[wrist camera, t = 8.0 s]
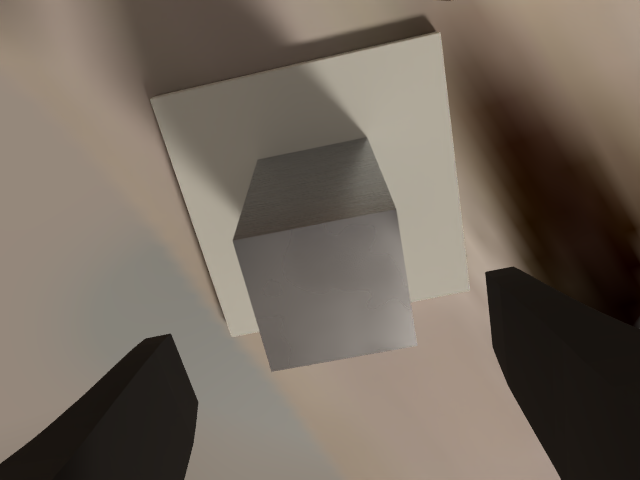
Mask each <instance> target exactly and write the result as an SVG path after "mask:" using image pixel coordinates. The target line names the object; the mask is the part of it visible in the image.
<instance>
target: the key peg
mask: <svg viewBox="0 0 640 480" xmlns="http://www.w3.org/2000/svg"><path fill="white" fill-rule="evenodd" d="M233 244H234V248H235V251H236V255H237V258H238V261H239V265H240V268H241V271H242V275H243V278H244V281H245V285H246V288H247V291H248V295H249V298H250V301H251V305H252V308H253V311H254V315H255V318H256V321H257V325H258V328H259V331H260V335H261V338H262V341H263V345H264V348H265V351H266V355H267V358H268V361H269V365H270V368H271V371H278V370H283V369H289V368H295V367H300V366H306V365H312V364H317V363H323V362H329V361H334V360H340V359H345V358H351V357H357V356H362V355H368V354H374V353H379V352H385V351H391V350H396V349H402V348H408V347H413V346H417V340H416V333H415V327H414V320H413V314H412V307H411V301H410V294H409V288H408V281H407V275H406V268H405V262H404V255H403V249H402V243H401V236H400V230H399V223H398V217H397V210H396V207H395V204H394V202H393V200H392V197H391V195H390V192H389V190H388V187H387V185H386V182H385V180H384V177H383V175H382V172H381V170H380V168H379V165H378V163H377V160H376V158H375V155H374V153H373V150H372V148H371V145H370V143H369V140H368V138H367V137H365V138H360V139H355V140H351V141H346V142H341V143H336V144H331V145H326V146H321V147H316V148H311V149H306V150H302V151H297V152H292V153H287V154H282V155H277V156H272V157H267V158H262V159H258V160H257V163H256V166H255V169H254V172H253V176H252V179H251V182H250V185H249V189H248V192H247V195H246V198H245V202H244V205H243V208H242V211H241V215H240V218H239V221H238V224H237V228H236V231H235V234H234V237H233Z"/></svg>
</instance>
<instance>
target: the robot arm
mask: <svg viewBox="0 0 640 480" xmlns="http://www.w3.org/2000/svg"><path fill="white" fill-rule="evenodd" d="M485 275H486V285H487V295H488V305H489V315H490V325H491V335H492V345H493V349H494V352H495V354H496V357H497V359H498V362H499V365H500V367H501V370H502V372H503V374H504V377H505V379H506V382H507V384H508V386H509V388H510V390H511V392H512V393H513V395H514V397H515V399H516V401H517V402H518V404H519V406H520V408H521V409H522V411H523V413H524V415H525V417H526V418H527V420H528V422H529V424H530V425H531V427H532V429H533V431H534V432H535V434H536V436H537V437H538V439H539V441H540V443H541V444H542V446H543V448H544V450H545V451H546V453H547V455H548V457H549V458H550V460H551V462H552V464H553V465H554V467H555V469H556V471H557V473H558V474H559V476H560V478H561V480H640V329H638V328H635V327H633V326H630V325H628V324H626V323H623V322H621V321H619V320H617V319H614V318H612V317H610V316H608V315H605V314H603V313H601V312H599V311H597V310H595V309H593V308H591V307H588V306H586V305H584V304H582V303H580V302H578V301H576V300H575V299H573V298H571V297H569V296H567V295H565V294H563V293H561V292H559V291H558V290H556V289H554V288H552V287H550V286H548V285H547V284H545V283H543V282H541V281H539V280H538V279H536V278H534V277H532V276H530V275H529V274H527V273H525V272H523V271H521V270H519V269H517V268H515V267H508V268H503V269H498V270H493V271H488V272H485ZM197 410H198V400H197V398H196V395H195V393H194V390H193V388H192V385H191V383H190V380H189V378H188V375H187V373H186V370H185V368H184V365H183V363H182V360H181V358H180V355H179V353H178V350H177V348H176V345H175V343H174V340H173V338H172V335H171V334H166V335H161V336H156V337H152V338H146V339H144V340H143V341H142V342H141V343H139V344H138V345H137V346H136V347H135V348H133V349H132V350H131V351H130V352H129V353H128V354H127V355H126V356H125V357H124V358H122V359H121V360H120V361H119V362H118V363H117V364H116V365H115V366H114V367H113V368H112V369H111V370H110V371H109V372H108V373H107V374H106V375H105V376H103V378H101V379H100V380H99V381H98V382H97V383H96V384H95V385H94V386H93V387H92V388H91V389H90V390H89V391H88V392H86V394H85V395H83V396H82V397H81V398H80V399H79V400H78V401H77V402H75V403H74V404H73V405H72V406H71V407H70V408H68V409H67V410H66V411H65V412H64V413H63V414H62V415H61V416H59V417H58V418H57V419H56V420H55V421H54V422H53V423H51V424H50V425H49V426H48V427H47V428H46V429H44V430H43V431H42V432H41V433H40V434H38V435H37V436H36V437H35V438H33V439H32V440H31V441H30V442H28V443H27V444H26V445H25V446H23V447H22V448H21V449H19V450H18V451H17V452H15V453H14V454H13V455H11V456H10V457H9V458H7V459H6V460H5V461H3V462H2V463H1V464H0V480H184V478H185V474H186V470H187V467H188V463H189V459H190V455H191V451H192V447H193V443H194V435H195V428H196V419H197Z"/></svg>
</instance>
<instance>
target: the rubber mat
mask: <svg viewBox="0 0 640 480" xmlns="http://www.w3.org/2000/svg"><path fill="white" fill-rule="evenodd" d="M150 101H151V104H152V107H153V110H154V113H155V116H156V119H157V121H158V124H159V127H160V130H161V133H162V136H163V139H164V142H165V145H166V148H167V151H168V153H169V156H170V159H171V162H172V165H173V168H174V171H175V174H176V177H177V180H178V183H179V185H180V188H181V191H182V194H183V197H184V200H185V203H186V206H187V209H188V212H189V215H190V217H191V220H192V223H193V226H194V229H195V232H196V235H197V238H198V241H199V244H200V247H201V249H202V252H203V255H204V258H205V261H206V264H207V267H208V270H209V273H210V276H211V279H212V281H213V284H214V287H215V290H216V293H217V296H218V299H219V302H220V305H221V308H222V311H223V313H224V316H225V319H226V322H227V325H228V328H229V331H230V334H231V337H235V336H240V335H246V334H251V333H256V332H260V331H259V328H258V325H257V321H256V318H255V315H254V311H253V308H252V305H251V301H250V298H249V295H248V291H247V288H246V285H245V281H244V278H243V275H242V271H241V268H240V265H239V261H238V258H237V255H236V251H235V248H234V244H233V237H234V234H235V231H236V228H237V224H238V221H239V218H240V215H241V211H242V208H243V205H244V202H245V198H246V195H247V192H248V189H249V185H250V182H251V179H252V176H253V172H254V169H255V166H256V163H257V160H258V159H262V158H267V157H272V156H277V155H282V154H287V153H292V152H297V151H302V150H306V149H311V148H316V147H321V146H326V145H331V144H336V143H341V142H346V141H351V140H355V139H360V138H365V137H367V138H368V140H369V143H370V145H371V148H372V150H373V153H374V155H375V158H376V160H377V163H378V165H379V168H380V170H381V172H382V175H383V177H384V180H385V182H386V185H387V187H388V190H389V192H390V195H391V197H392V200H393V202H394V204H395V207H396V210H397V217H398V223H399V230H400V236H401V243H402V249H403V255H404V262H405V268H406V275H407V281H408V288H409V294H410V301H411V302H415V301H420V300H426V299H431V298H436V297H441V296H446V295H451V294H456V293H462V292H467V291H470V285H469V276H468V268H467V259H466V250H465V242H464V233H463V224H462V216H461V207H460V198H459V190H458V181H457V172H456V164H455V155H454V146H453V138H452V129H451V120H450V111H449V103H448V94H447V85H446V77H445V68H444V59H443V51H442V42H441V33H440V32H432V33H428V34H424V35H419V36H415V37H411V38H406V39H402V40H397V41H393V42H389V43H384V44H380V45H376V46H371V47H367V48H363V49H358V50H354V51H350V52H345V53H341V54H337V55H332V56H328V57H324V58H319V59H315V60H310V61H306V62H302V63H297V64H293V65H289V66H284V67H280V68H276V69H271V70H267V71H263V72H258V73H254V74H250V75H245V76H241V77H237V78H232V79H228V80H223V81H219V82H215V83H210V84H206V85H202V86H197V87H193V88H189V89H184V90H180V91H176V92H171V93H167V94H163V95H158V96H154V97H153V98H151V99H150Z"/></svg>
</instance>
